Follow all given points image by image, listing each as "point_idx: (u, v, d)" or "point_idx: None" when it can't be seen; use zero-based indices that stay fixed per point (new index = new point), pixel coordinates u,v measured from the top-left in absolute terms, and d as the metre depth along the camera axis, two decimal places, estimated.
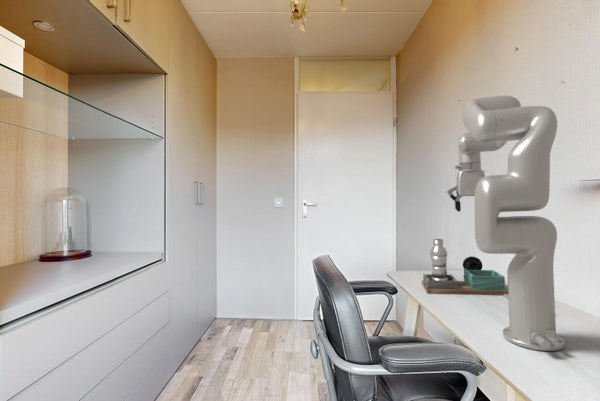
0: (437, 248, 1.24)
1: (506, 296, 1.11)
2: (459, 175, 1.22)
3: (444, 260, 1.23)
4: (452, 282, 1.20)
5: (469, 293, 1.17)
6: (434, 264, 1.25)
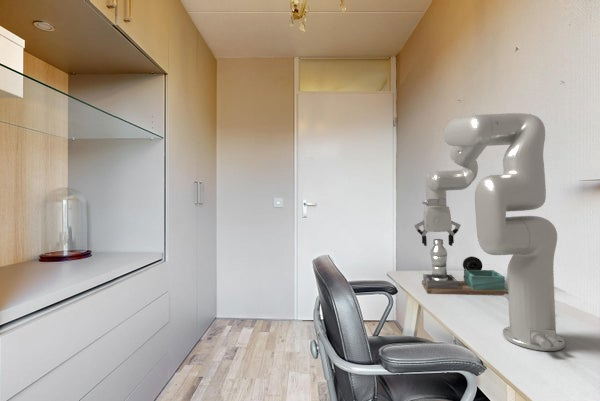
0: (437, 248, 1.24)
1: (506, 296, 1.11)
2: (425, 211, 1.25)
3: (444, 260, 1.23)
4: (452, 282, 1.20)
5: (469, 293, 1.17)
6: (434, 264, 1.25)
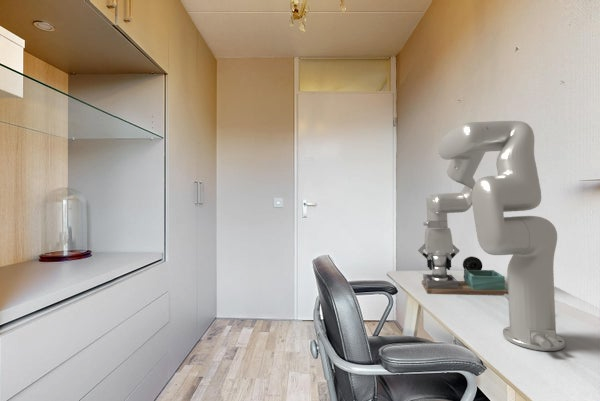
0: None
1: (506, 296, 1.11)
2: (426, 232, 1.25)
3: (444, 260, 1.23)
4: (452, 282, 1.20)
5: (469, 293, 1.17)
6: (434, 264, 1.25)
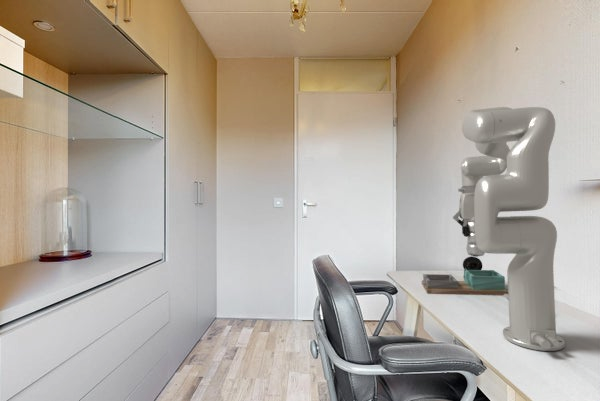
0: None
1: (506, 296, 1.12)
2: (462, 198, 1.22)
3: None
4: (452, 282, 1.20)
5: (469, 293, 1.17)
6: (470, 230, 1.22)
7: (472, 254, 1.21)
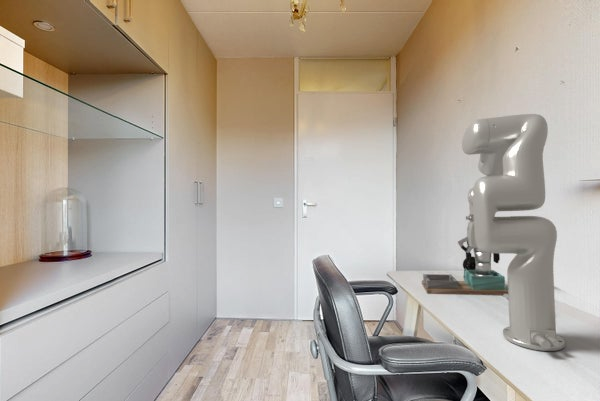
0: None
1: (506, 296, 1.12)
2: (470, 227, 1.22)
3: (489, 256, 1.20)
4: (452, 282, 1.20)
5: (469, 293, 1.17)
6: (478, 260, 1.21)
7: None
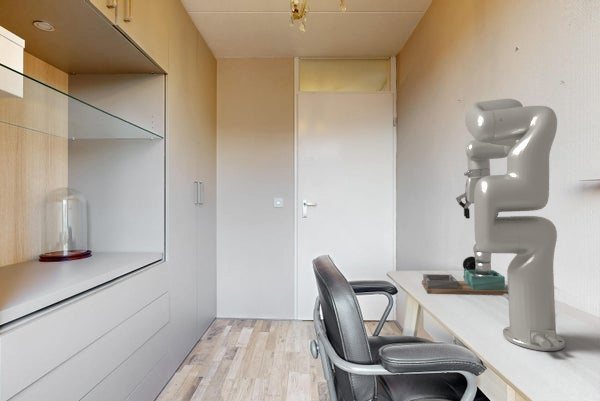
0: None
1: (505, 296, 1.12)
2: (468, 182, 1.22)
3: (489, 256, 1.20)
4: (452, 282, 1.20)
5: (469, 293, 1.17)
6: (478, 260, 1.21)
7: None
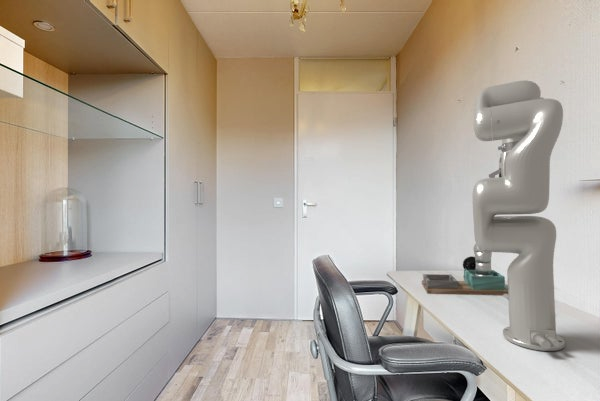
0: None
1: (505, 296, 1.12)
2: (503, 157, 1.10)
3: (489, 256, 1.20)
4: (452, 282, 1.20)
5: (469, 293, 1.17)
6: (478, 260, 1.21)
7: None
